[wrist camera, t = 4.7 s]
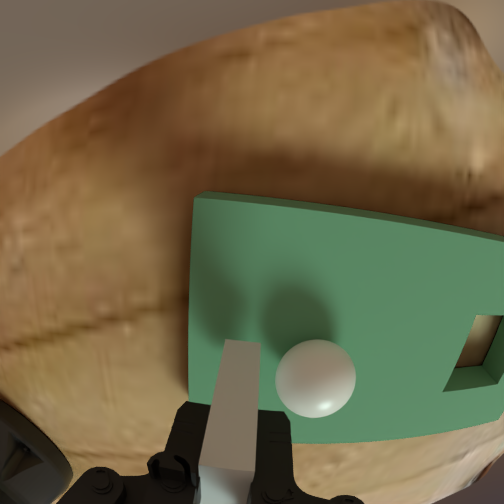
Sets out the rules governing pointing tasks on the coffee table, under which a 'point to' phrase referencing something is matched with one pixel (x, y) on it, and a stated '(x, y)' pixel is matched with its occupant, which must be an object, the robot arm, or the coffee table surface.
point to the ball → (315, 378)
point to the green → (348, 310)
